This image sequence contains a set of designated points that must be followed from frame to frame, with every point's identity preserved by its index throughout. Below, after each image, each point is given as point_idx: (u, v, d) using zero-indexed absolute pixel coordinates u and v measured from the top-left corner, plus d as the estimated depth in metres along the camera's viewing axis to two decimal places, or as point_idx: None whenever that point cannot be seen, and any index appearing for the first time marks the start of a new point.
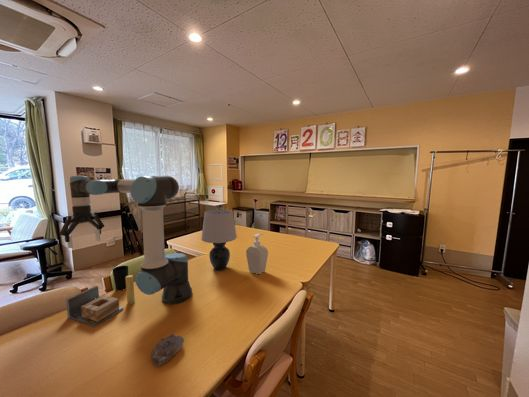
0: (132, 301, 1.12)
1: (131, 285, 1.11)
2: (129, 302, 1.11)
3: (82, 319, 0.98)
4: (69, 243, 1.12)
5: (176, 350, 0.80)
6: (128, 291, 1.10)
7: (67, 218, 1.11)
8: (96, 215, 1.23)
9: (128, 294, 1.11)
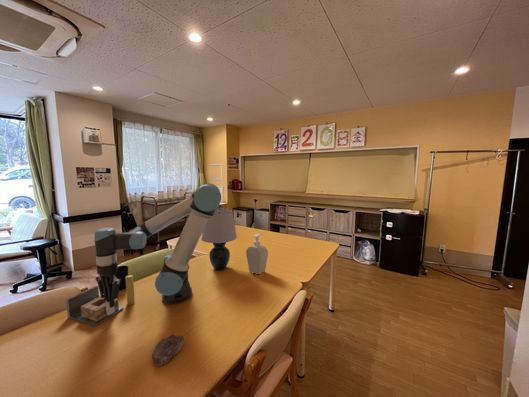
0: (132, 301, 1.12)
1: (131, 285, 1.11)
2: (129, 302, 1.11)
3: (82, 319, 0.98)
4: None
5: (177, 350, 0.80)
6: (128, 291, 1.10)
7: None
8: (114, 284, 0.96)
9: (128, 294, 1.11)
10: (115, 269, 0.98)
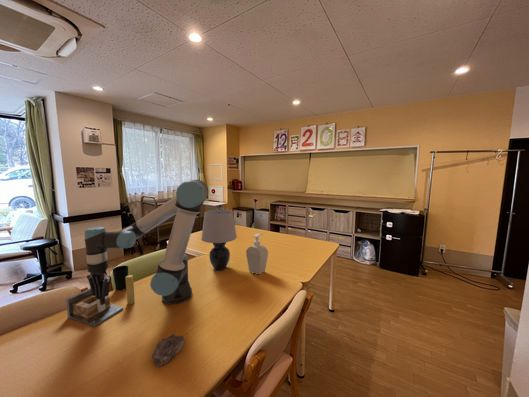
0: (132, 301, 1.12)
1: (131, 285, 1.11)
2: (129, 302, 1.11)
3: (82, 319, 0.98)
4: None
5: (177, 350, 0.80)
6: (128, 291, 1.10)
7: None
8: (104, 282, 0.98)
9: (128, 294, 1.11)
10: (105, 267, 1.00)
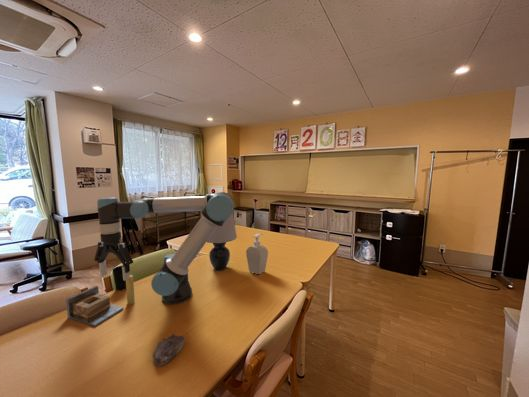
0: (132, 301, 1.12)
1: (131, 285, 1.11)
2: (129, 302, 1.11)
3: (82, 319, 0.98)
4: None
5: (178, 350, 0.80)
6: (128, 291, 1.10)
7: None
8: (120, 248, 0.96)
9: (128, 294, 1.11)
10: (119, 237, 0.99)
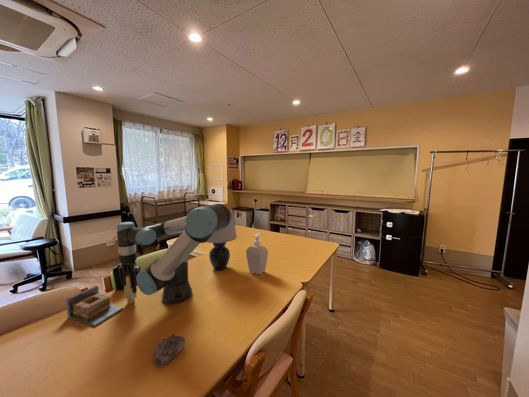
0: (132, 301, 1.12)
1: None
2: (129, 302, 1.11)
3: (82, 319, 0.98)
4: None
5: (178, 350, 0.80)
6: (128, 291, 1.10)
7: None
8: (134, 271, 1.08)
9: (128, 294, 1.10)
10: (135, 258, 1.10)
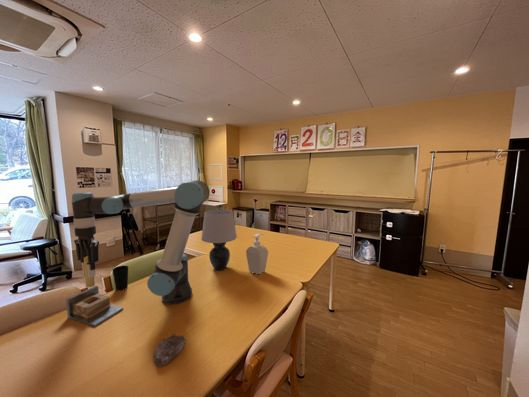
0: (91, 284, 1.02)
1: None
2: (88, 285, 1.02)
3: (82, 319, 0.98)
4: None
5: (178, 350, 0.80)
6: (86, 272, 1.01)
7: None
8: (92, 246, 0.98)
9: (86, 276, 1.01)
10: (93, 232, 1.00)
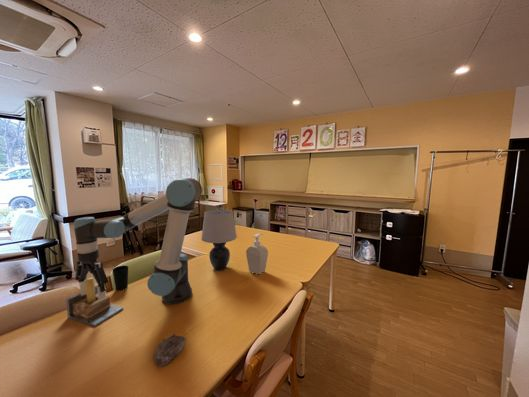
0: None
1: (91, 288, 1.03)
2: None
3: (82, 319, 0.98)
4: None
5: (179, 350, 0.80)
6: (88, 294, 1.02)
7: None
8: (96, 268, 0.99)
9: (88, 298, 1.02)
10: (96, 256, 1.01)
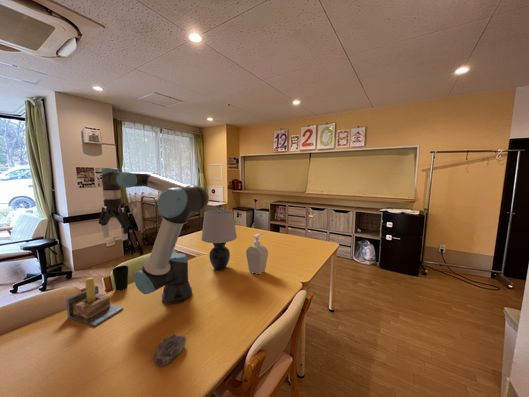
0: None
1: (92, 288, 1.03)
2: None
3: (82, 319, 0.98)
4: None
5: (179, 350, 0.80)
6: (88, 294, 1.02)
7: None
8: (120, 212, 1.11)
9: (88, 298, 1.02)
10: (119, 203, 1.14)
